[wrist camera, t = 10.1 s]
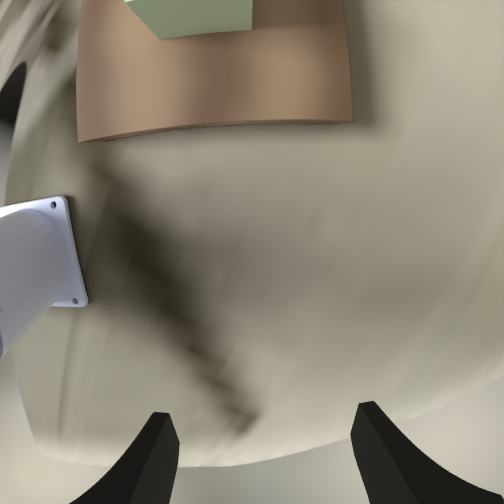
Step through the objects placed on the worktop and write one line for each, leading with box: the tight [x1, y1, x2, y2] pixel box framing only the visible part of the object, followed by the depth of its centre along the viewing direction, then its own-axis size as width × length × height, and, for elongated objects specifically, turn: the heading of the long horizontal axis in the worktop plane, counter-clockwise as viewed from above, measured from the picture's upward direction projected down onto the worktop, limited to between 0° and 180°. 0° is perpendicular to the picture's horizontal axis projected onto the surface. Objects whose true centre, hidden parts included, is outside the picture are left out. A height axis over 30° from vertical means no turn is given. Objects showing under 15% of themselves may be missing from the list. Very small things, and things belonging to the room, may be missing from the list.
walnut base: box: [76, 0, 353, 142], centre depth 13 cm, size 14×14×3 cm
